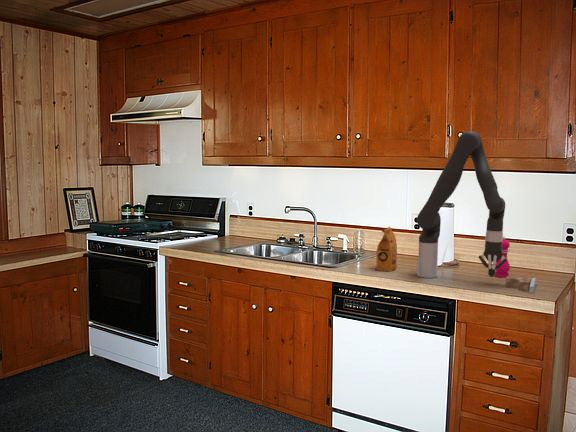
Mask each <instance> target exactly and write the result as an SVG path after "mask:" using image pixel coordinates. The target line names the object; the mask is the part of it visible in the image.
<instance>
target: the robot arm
mask: <svg viewBox="0 0 576 432" xmlns="http://www.w3.org/2000/svg"><path fill="white" fill-rule="evenodd" d="M469 157H470V158H471V161H472V163H473V167H474V171H475V177H476V180H477V182H478V185H479V187H480V189H481V192H482V194H483V198H484V202H485V205H486V207H487V209H488V210H489V211H488V218H487V221H486V232H485V237H484V238H485V239H484V240H485V243H484V251H483V253H482V254H480V255H479V256H478V259H479V260H480V262H481V264H482V265H483V266H484V267H485V268H487V269H488V272H487V273H488V274H487V275H488V276H489V278H493V277H495V272H496V270H495V269H497V268H500V267H501V266H502V265H503V264H504V263H505V262H506V261H507V260H508V257H507V258H505V257H504V256H503V253H502V243H503V236H504V235H503V231H504V230H503V229H504V217H505V212H506V211H505V210H506V201H505V200H504V198H503V197H501V196H500V194H499V191H498V185H497V182H496V180H495V177H494V175H493V172H492V170H491V167H490V165H489V163H488V160H487V157H486V153H485V149H484V145H483V141H482V137H481V135H480V134H479V133H478V132H476V131H473V130H472V131H464V132H462V133H461V135H459V137H458V139H457V140H456V144H455V146H454V149H453V151H452V154H451V156H450V158H449V159H448V161H447V162H446V164H445V166H444V168H443V169H442V171H441V173H440V175H439V176H438V179H437V181H436V183H435V185H434V187H433V189H432V190H431V193H430V194H429V197H428V199H427V201H426V202H425V204H424V205H423V207H422V208H421V210H420V211H419V213H418V214H417V217H416V223H417V225H418V227H419V228H420V229H421V233H420V234H419V236H418V256H417V258H416V261H417V262H416V276H417V277H421V278H425V279H426V278H430V279H431V278H432V279H433V278H434V279H435V278H437V277H438V259H439V257H438V254H439V253H438V252H439V251H438V250H439V237H440V234H441V225H442V224H441V219H442V218H441V215H440V210H441V208H442V206H443V205H444V204H445V202H447V201H448V199H450V197H451V196H452V195H453V194H454V192H455V191H456V189H457V187H458V185H459V183H460V182H461V179H462V175H463V172H464V168H465V164H466V163H467V161H468V160H469ZM500 258H502V259H501V262H500V263H499V264H498V265H496V263H497V261H499V259H500ZM486 260H487V261H488V263H487V261H486Z"/></svg>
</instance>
